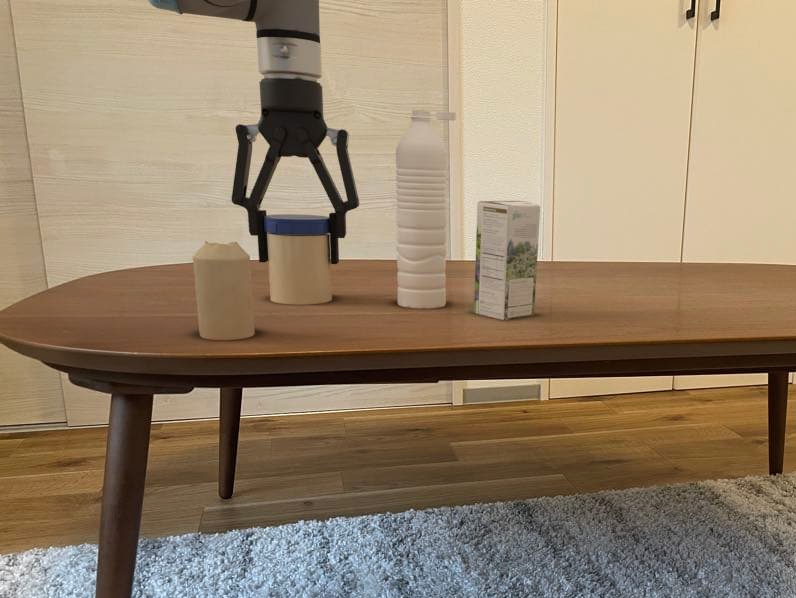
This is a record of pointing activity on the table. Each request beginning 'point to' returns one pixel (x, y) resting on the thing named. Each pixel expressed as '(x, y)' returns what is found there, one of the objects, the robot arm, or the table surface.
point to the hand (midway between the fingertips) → (299, 261)
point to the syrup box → (506, 259)
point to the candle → (223, 291)
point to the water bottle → (421, 213)
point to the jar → (299, 268)
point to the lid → (296, 224)
